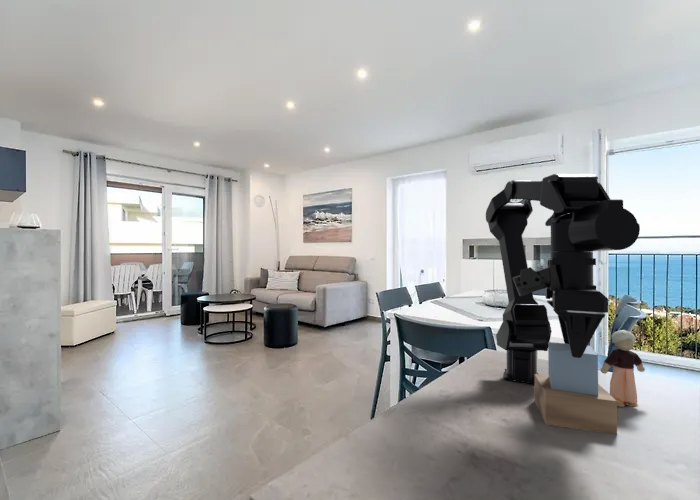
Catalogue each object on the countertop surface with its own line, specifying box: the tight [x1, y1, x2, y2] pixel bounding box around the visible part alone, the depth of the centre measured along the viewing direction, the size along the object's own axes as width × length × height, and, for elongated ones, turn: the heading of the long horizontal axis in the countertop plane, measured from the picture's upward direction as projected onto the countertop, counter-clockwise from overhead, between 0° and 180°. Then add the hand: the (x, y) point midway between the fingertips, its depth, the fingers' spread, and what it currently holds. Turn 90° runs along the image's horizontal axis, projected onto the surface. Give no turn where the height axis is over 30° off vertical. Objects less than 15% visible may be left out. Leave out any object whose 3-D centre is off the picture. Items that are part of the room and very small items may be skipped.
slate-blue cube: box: [547, 341, 599, 396], centre depth 55 cm, size 6×6×6 cm
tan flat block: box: [533, 373, 618, 435], centre depth 55 cm, size 9×9×5 cm
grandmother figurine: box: [599, 329, 646, 407], centre depth 60 cm, size 8×4×13 cm, turn 105°
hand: (572, 350), depth 55 cm, fingers open, 9 cm apart
